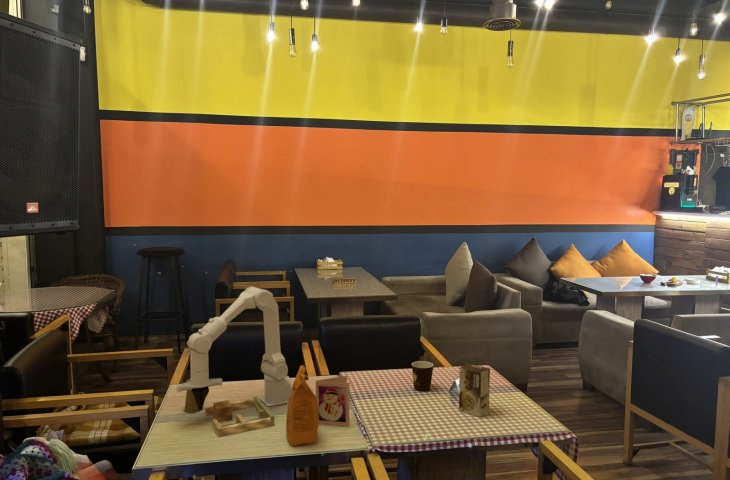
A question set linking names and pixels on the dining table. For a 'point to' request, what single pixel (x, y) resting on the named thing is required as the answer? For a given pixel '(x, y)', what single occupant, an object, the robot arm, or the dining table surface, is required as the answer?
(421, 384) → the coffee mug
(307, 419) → the coffee package
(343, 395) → the greeting card
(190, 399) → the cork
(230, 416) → the walnut block
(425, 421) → the dining table surface
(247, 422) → the trap lane
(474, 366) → the coffee box
